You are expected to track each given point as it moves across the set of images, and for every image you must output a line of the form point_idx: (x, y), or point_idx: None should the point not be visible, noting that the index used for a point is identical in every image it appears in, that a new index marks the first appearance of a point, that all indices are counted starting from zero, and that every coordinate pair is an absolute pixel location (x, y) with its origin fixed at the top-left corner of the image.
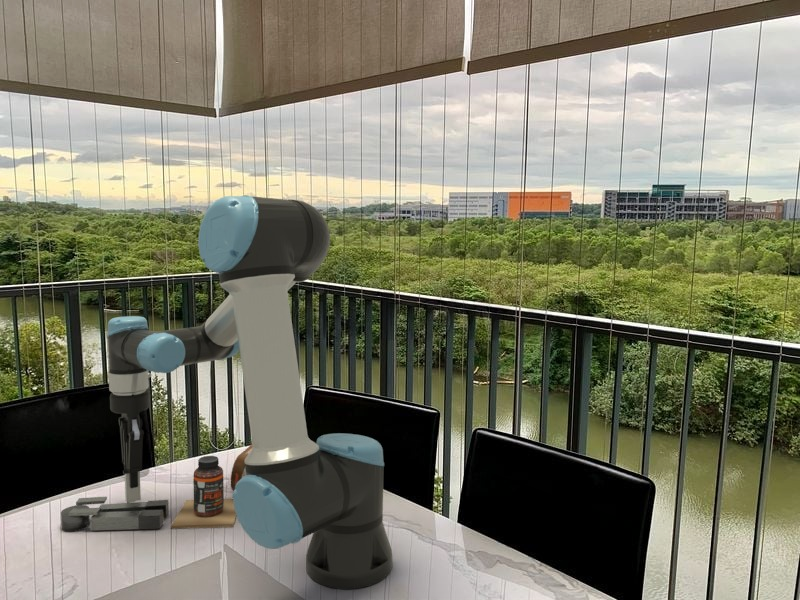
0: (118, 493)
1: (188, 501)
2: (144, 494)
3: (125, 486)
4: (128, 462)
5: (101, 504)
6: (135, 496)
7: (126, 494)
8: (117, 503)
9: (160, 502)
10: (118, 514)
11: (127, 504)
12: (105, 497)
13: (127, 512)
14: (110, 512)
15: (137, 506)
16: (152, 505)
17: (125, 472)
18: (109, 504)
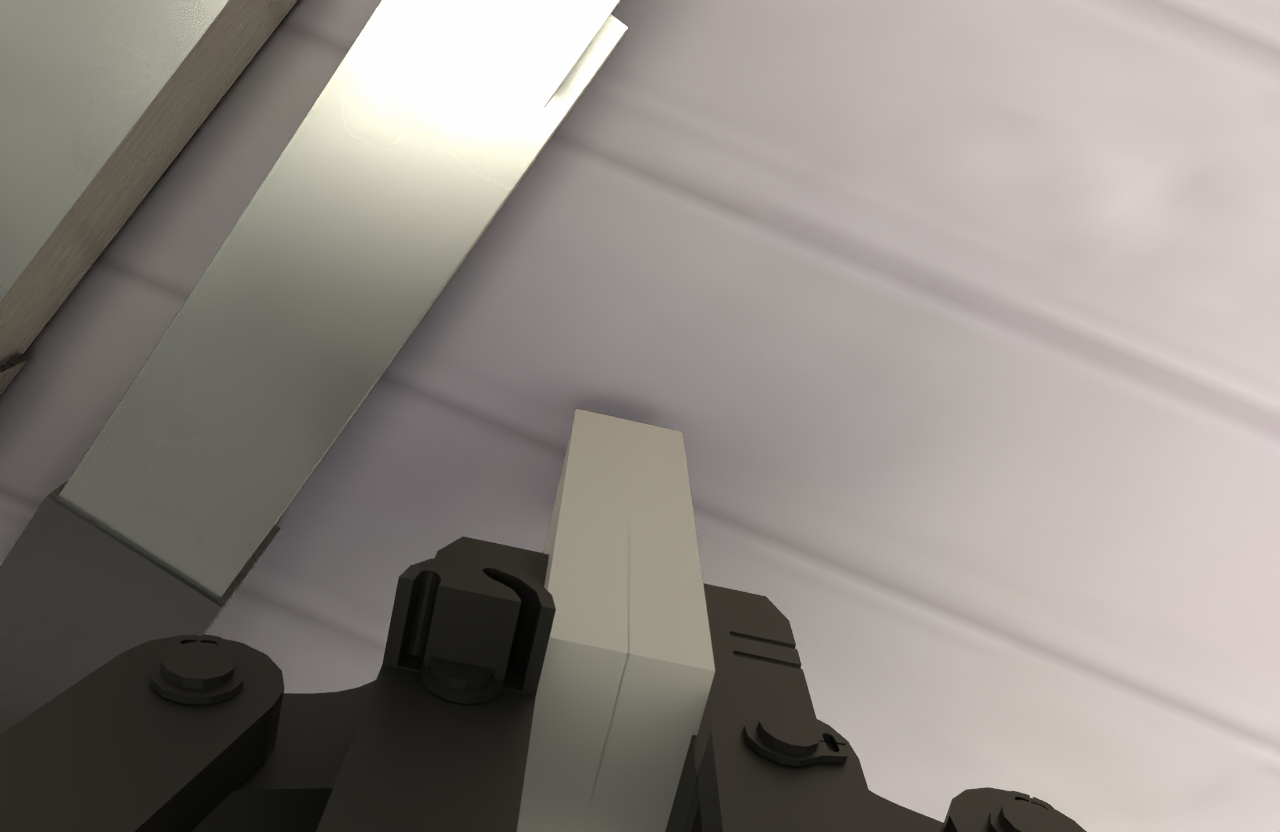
0: (1252, 530)
1: None
2: (939, 741)
3: (648, 512)
4: (123, 825)
5: (619, 29)
6: (544, 552)
7: (582, 454)
8: (471, 244)
9: (42, 704)
10: (15, 75)
11: (319, 342)
12: (510, 69)
13: (2, 214)
14: (181, 8)
15: (133, 418)
16: (10, 584)
17: (402, 609)
18: (526, 132)
